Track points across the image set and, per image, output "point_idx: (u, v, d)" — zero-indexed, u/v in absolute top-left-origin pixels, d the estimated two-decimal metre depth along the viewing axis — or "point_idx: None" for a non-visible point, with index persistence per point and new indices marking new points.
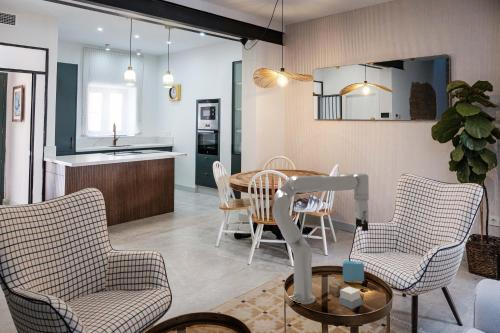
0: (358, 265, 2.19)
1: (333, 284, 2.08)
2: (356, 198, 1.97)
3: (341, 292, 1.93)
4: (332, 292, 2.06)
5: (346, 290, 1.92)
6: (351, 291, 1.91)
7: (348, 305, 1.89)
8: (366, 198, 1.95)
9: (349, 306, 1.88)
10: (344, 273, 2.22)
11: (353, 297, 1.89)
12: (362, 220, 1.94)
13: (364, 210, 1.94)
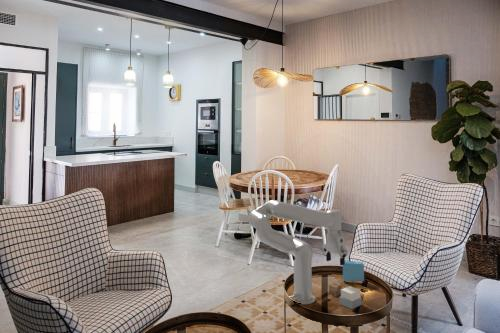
0: (358, 265, 2.19)
1: (333, 284, 2.08)
2: None
3: (341, 292, 1.93)
4: (332, 292, 2.06)
5: (347, 290, 1.92)
6: (352, 291, 1.91)
7: (348, 305, 1.89)
8: None
9: (349, 306, 1.88)
10: (344, 273, 2.22)
11: (354, 297, 1.89)
12: None
13: None
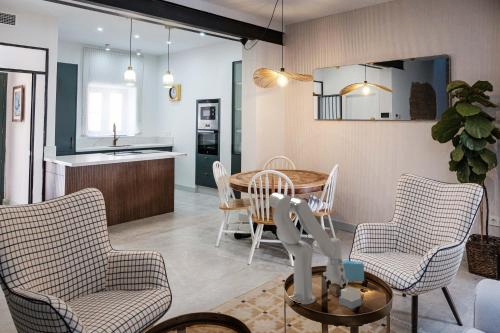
0: (358, 265, 2.19)
1: (333, 284, 2.08)
2: None
3: (342, 292, 1.92)
4: (332, 292, 2.06)
5: (347, 290, 1.91)
6: (352, 291, 1.90)
7: (348, 305, 1.89)
8: None
9: (349, 306, 1.89)
10: None
11: (354, 298, 1.88)
12: None
13: None
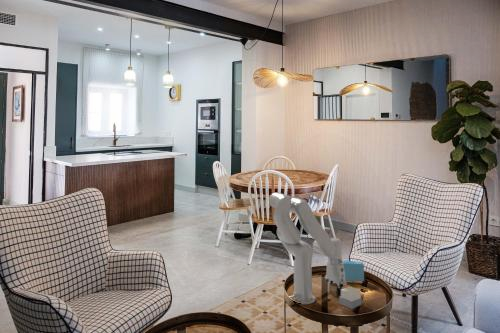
0: (358, 265, 2.19)
1: (333, 284, 2.08)
2: None
3: (341, 292, 1.93)
4: (332, 292, 2.06)
5: (347, 290, 1.92)
6: (351, 291, 1.90)
7: (348, 305, 1.89)
8: None
9: (349, 306, 1.89)
10: None
11: (353, 297, 1.89)
12: (331, 280, 2.11)
13: None
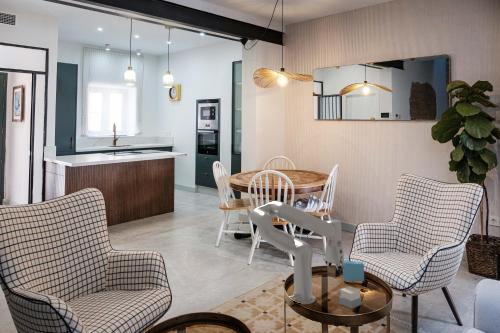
0: (358, 265, 2.19)
1: (332, 266, 2.07)
2: None
3: (341, 291, 1.93)
4: (330, 274, 2.05)
5: (347, 290, 1.92)
6: (351, 291, 1.91)
7: (348, 305, 1.89)
8: None
9: (349, 306, 1.89)
10: (344, 273, 2.22)
11: (353, 297, 1.89)
12: (330, 262, 2.10)
13: None
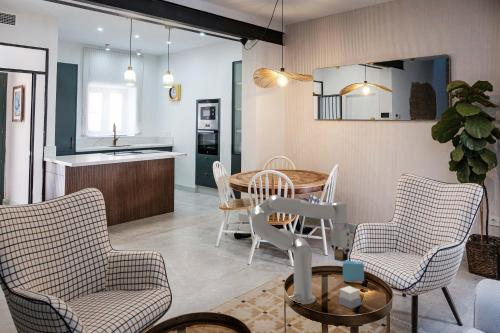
0: (358, 265, 2.19)
1: (338, 250, 2.00)
2: None
3: (340, 291, 1.93)
4: (338, 258, 1.98)
5: (346, 290, 1.92)
6: (350, 290, 1.91)
7: (348, 305, 1.89)
8: None
9: (349, 306, 1.89)
10: (344, 273, 2.22)
11: (352, 297, 1.89)
12: (336, 246, 2.03)
13: None
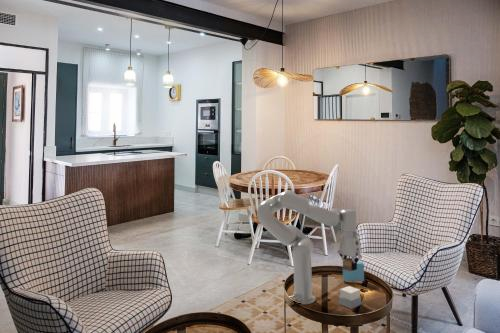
0: (358, 265, 2.19)
1: (347, 259, 1.92)
2: None
3: (341, 291, 1.93)
4: (346, 267, 1.90)
5: (346, 290, 1.92)
6: (351, 290, 1.91)
7: (348, 305, 1.89)
8: None
9: (349, 306, 1.89)
10: (344, 273, 2.22)
11: (353, 297, 1.89)
12: (345, 255, 1.95)
13: None
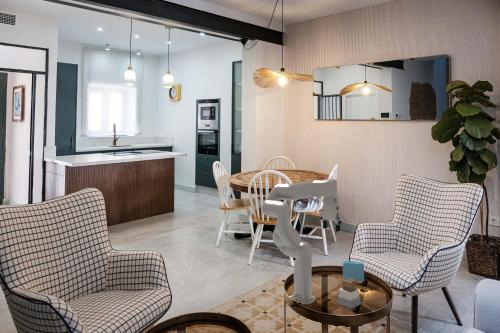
0: (358, 265, 2.19)
1: (347, 279, 1.93)
2: None
3: (340, 291, 1.93)
4: (346, 288, 1.91)
5: None
6: None
7: (347, 305, 1.89)
8: None
9: (348, 306, 1.89)
10: (344, 273, 2.22)
11: (352, 297, 1.90)
12: (325, 218, 2.20)
13: None
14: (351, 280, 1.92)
